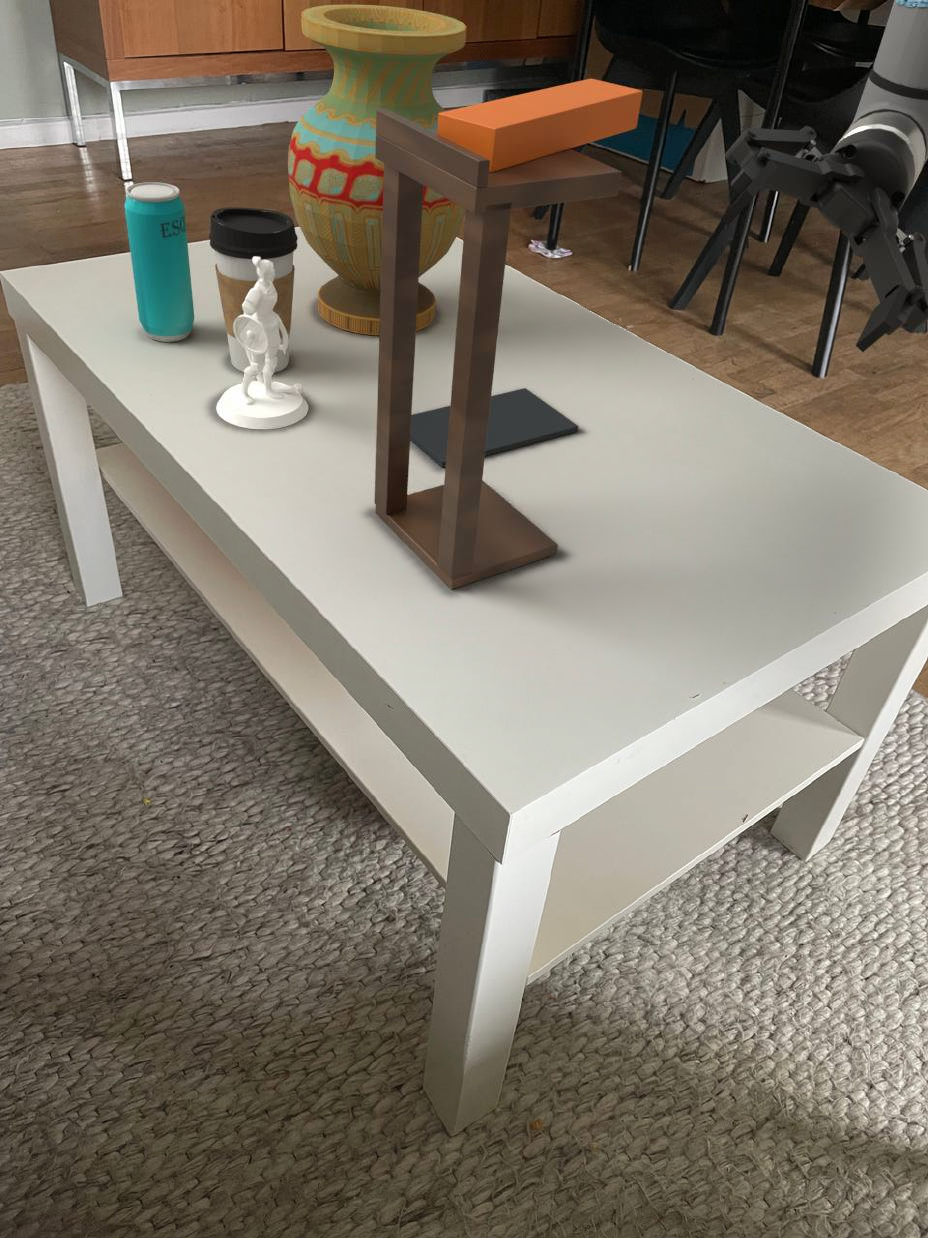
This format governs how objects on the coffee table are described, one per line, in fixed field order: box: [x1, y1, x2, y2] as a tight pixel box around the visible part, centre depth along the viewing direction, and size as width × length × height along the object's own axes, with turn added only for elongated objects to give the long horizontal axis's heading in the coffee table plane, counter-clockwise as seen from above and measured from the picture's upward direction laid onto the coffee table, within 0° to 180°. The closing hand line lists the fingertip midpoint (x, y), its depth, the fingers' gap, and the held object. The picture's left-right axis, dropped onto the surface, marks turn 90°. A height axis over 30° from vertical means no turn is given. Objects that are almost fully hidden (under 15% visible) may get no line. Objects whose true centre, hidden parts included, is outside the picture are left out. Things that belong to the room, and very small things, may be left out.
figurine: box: [216, 256, 309, 430], centre depth 93 cm, size 9×9×15 cm
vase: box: [287, 3, 467, 336], centre depth 109 cm, size 20×20×30 cm
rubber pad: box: [410, 387, 579, 468], centre depth 98 cm, size 16×9×1 cm, turn 123°
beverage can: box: [124, 181, 195, 343], centre depth 105 cm, size 6×6×15 cm
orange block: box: [437, 78, 643, 172], centre depth 67 cm, size 18×4×2 cm, turn 143°
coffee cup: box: [208, 206, 298, 375], centre depth 101 cm, size 8×8×15 cm
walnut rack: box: [374, 109, 623, 590], centre depth 74 cm, size 11×12×32 cm
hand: (805, 273), depth 72 cm, fingers open, 13 cm apart
